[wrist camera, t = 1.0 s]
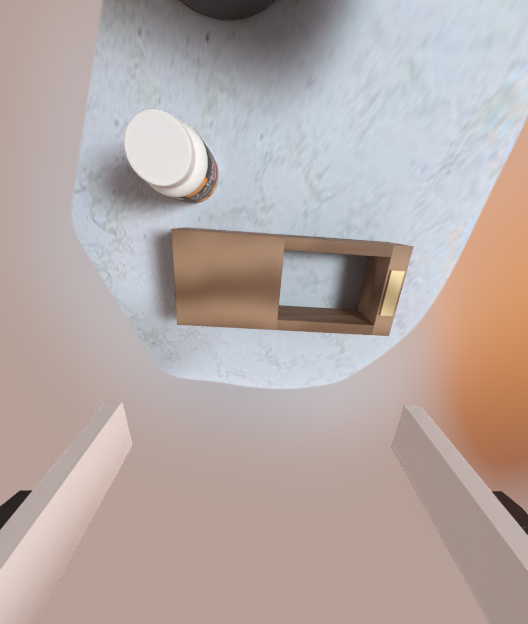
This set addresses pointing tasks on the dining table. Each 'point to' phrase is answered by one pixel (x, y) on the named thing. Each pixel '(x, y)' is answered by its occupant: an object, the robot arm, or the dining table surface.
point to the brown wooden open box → (277, 282)
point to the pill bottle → (170, 156)
